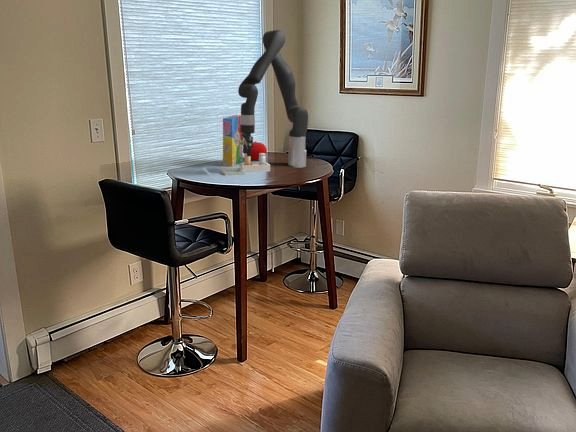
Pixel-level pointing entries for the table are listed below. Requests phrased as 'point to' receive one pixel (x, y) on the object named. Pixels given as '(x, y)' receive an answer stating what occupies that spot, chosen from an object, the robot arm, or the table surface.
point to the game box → (232, 141)
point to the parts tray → (225, 172)
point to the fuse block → (255, 167)
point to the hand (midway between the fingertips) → (246, 154)
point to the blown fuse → (247, 159)
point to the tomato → (257, 150)
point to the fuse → (261, 158)
